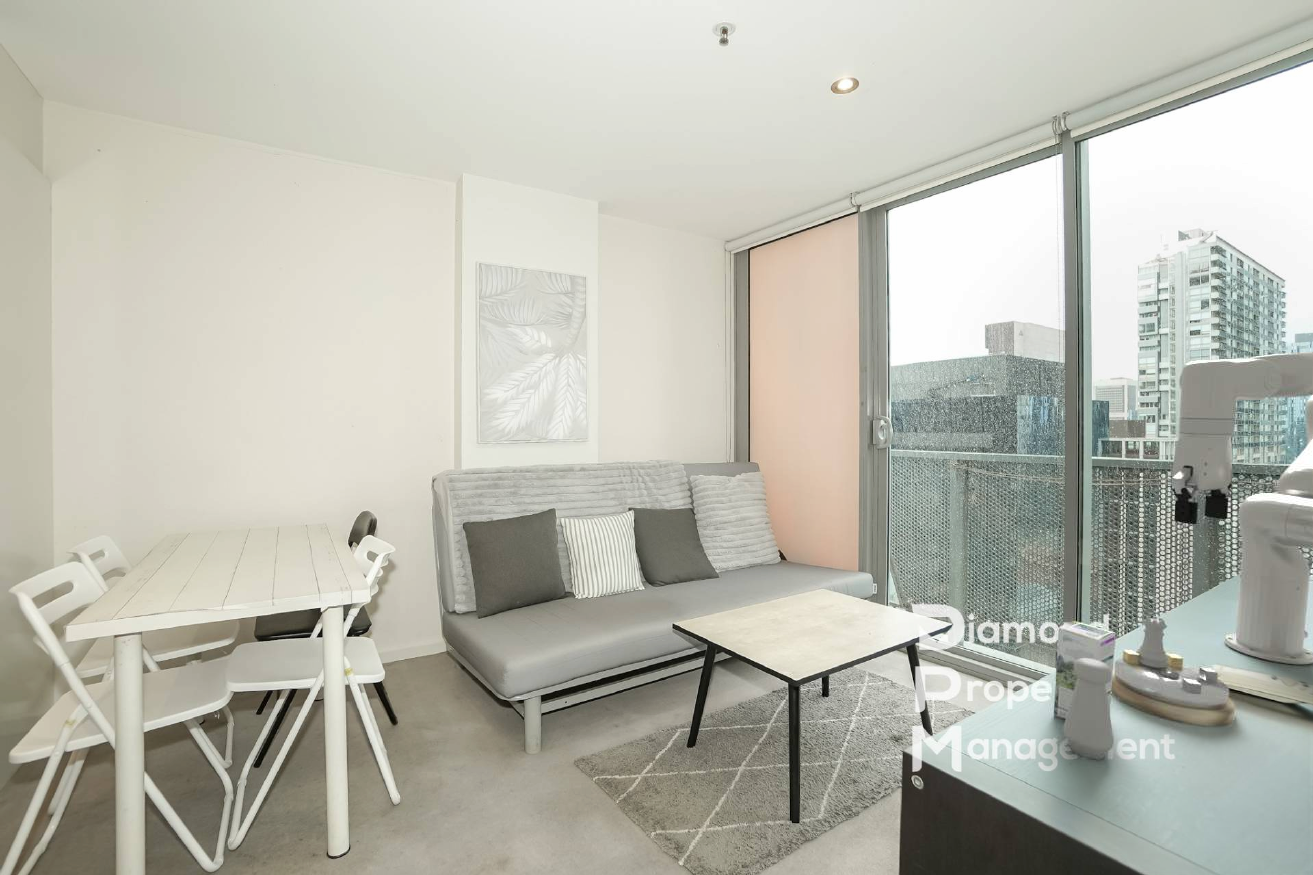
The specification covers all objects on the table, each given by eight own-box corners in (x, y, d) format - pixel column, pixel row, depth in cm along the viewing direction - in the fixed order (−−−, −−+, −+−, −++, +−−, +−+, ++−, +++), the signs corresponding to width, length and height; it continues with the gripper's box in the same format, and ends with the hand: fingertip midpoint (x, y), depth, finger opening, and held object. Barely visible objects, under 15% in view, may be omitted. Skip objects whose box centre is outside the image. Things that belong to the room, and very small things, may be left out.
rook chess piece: (1131, 662, 105) (1135, 617, 104) (1138, 655, 108) (1142, 612, 107) (1164, 672, 101) (1168, 625, 101) (1171, 664, 104) (1174, 619, 104)
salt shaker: (1121, 766, 82) (1127, 673, 81) (1074, 760, 83) (1080, 669, 82) (1099, 742, 88) (1105, 655, 87) (1055, 737, 89) (1060, 651, 88)
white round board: (1099, 680, 102) (1100, 659, 102) (1133, 661, 110) (1134, 641, 110) (1211, 719, 90) (1212, 696, 90) (1240, 694, 98) (1242, 672, 98)
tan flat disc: (1143, 671, 111) (1144, 660, 111) (1256, 715, 96) (1257, 702, 96) (1085, 686, 105) (1086, 674, 105) (1196, 734, 90) (1197, 721, 90)
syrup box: (1111, 723, 93) (1117, 631, 92) (1093, 733, 90) (1099, 638, 89) (1069, 706, 98) (1075, 619, 97) (1051, 716, 95) (1057, 626, 94)
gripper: (1208, 425, 118) (1203, 512, 119) (1154, 428, 111) (1149, 520, 112) (1258, 427, 111) (1252, 519, 112) (1204, 431, 104) (1198, 529, 105)
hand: (1200, 520), depth 112 cm, fingers open, 9 cm apart
